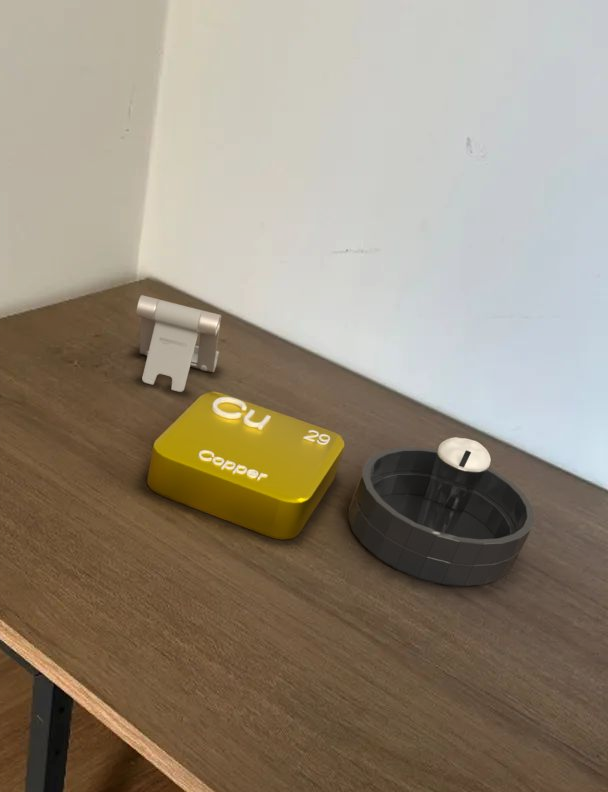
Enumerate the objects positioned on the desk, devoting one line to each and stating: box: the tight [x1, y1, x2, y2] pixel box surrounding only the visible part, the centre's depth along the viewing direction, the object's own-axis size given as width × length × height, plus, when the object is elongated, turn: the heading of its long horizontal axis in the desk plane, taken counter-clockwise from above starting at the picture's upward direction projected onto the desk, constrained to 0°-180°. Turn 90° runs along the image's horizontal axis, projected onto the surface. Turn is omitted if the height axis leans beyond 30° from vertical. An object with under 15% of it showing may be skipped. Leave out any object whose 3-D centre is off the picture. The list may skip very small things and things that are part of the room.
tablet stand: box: [135, 294, 222, 393], centre depth 104 cm, size 9×8×8 cm
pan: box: [347, 446, 536, 587], centre depth 87 cm, size 15×15×5 cm
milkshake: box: [417, 436, 491, 535], centre depth 85 cm, size 5×5×10 cm
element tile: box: [146, 391, 345, 541], centre depth 90 cm, size 15×15×5 cm
